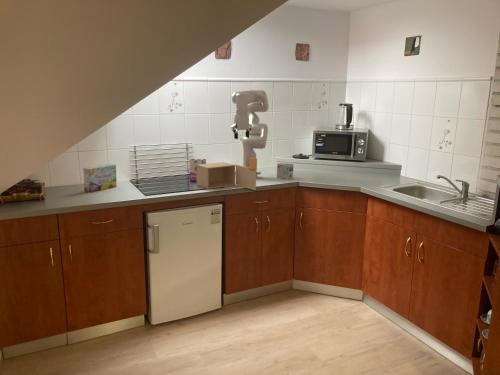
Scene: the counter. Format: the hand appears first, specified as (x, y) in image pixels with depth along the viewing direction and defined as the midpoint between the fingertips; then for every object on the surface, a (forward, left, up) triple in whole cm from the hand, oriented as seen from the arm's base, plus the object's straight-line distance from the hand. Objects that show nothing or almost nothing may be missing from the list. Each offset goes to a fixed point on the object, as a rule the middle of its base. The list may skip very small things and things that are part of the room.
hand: (241, 138), depth 282 cm
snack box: (+82, -40, -32) cm, 97 cm away
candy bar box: (+18, -27, -32) cm, 46 cm away
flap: (+2, +8, -32) cm, 33 cm away
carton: (+14, -10, -32) cm, 37 cm away
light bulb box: (-43, -3, -32) cm, 54 cm away
